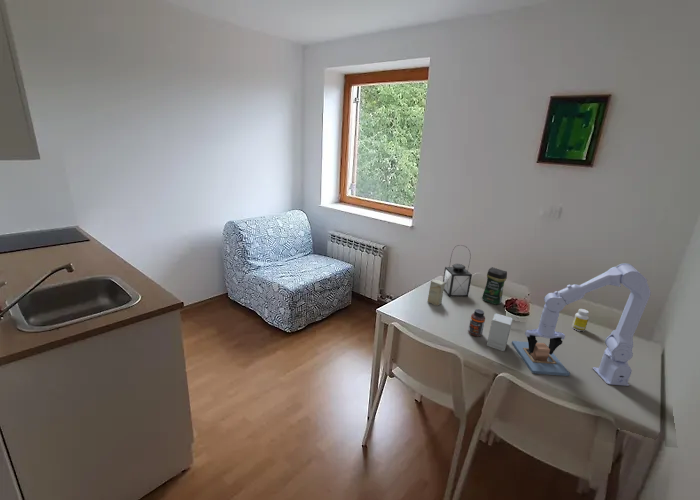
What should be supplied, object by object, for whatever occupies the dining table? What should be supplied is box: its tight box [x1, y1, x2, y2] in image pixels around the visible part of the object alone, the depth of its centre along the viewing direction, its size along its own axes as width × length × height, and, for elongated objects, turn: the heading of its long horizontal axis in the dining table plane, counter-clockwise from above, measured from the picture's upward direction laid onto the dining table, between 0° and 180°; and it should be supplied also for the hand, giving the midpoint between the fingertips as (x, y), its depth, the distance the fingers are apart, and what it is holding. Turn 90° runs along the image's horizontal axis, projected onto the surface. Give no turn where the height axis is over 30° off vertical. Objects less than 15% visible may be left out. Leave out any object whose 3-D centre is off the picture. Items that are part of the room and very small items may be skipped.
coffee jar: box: [481, 266, 508, 305], centre depth 189 cm, size 10×8×19 cm
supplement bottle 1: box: [467, 308, 486, 337], centre depth 158 cm, size 6×6×11 cm
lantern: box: [442, 244, 473, 298], centre depth 196 cm, size 11×11×28 cm
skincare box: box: [427, 278, 445, 307], centre depth 184 cm, size 6×4×12 cm
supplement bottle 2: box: [571, 308, 590, 332], centre depth 167 cm, size 5×5×10 cm
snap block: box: [529, 342, 550, 362], centre depth 143 cm, size 4×4×6 cm
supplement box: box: [486, 312, 513, 352], centre depth 150 cm, size 7×7×13 cm
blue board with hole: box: [511, 340, 571, 377], centre depth 144 cm, size 20×14×2 cm
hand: (540, 352), depth 143 cm, fingers open, 7 cm apart
